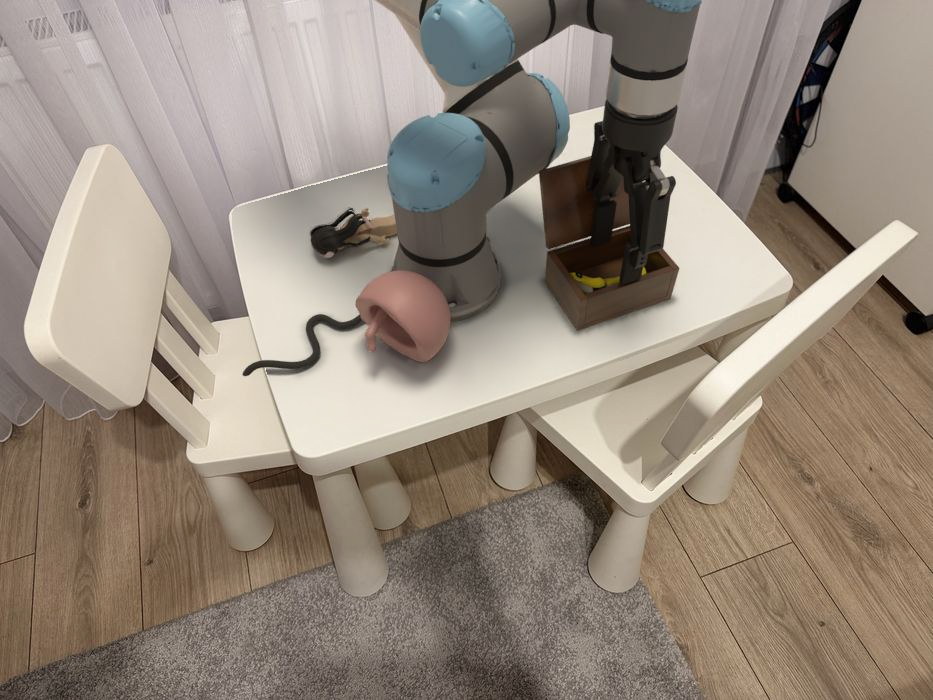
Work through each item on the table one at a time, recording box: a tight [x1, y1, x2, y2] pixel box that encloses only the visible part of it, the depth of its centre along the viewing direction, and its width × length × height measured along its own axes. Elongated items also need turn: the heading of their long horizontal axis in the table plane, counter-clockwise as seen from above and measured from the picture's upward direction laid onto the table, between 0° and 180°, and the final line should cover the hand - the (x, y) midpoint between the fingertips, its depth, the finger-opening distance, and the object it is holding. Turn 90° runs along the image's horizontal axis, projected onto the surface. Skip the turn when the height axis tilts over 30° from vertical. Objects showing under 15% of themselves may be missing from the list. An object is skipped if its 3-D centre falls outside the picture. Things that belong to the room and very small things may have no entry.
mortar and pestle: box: [354, 270, 451, 363], centre depth 84 cm, size 12×12×12 cm
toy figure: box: [309, 206, 398, 259], centre depth 100 cm, size 7×6×15 cm
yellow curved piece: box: [570, 266, 646, 294], centre depth 91 cm, size 10×6×4 cm, turn 102°
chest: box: [544, 225, 680, 332], centre depth 91 cm, size 10×14×6 cm
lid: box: [538, 155, 642, 250], centre depth 89 cm, size 11×14×1 cm
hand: (614, 260), depth 89 cm, fingers open, 7 cm apart
